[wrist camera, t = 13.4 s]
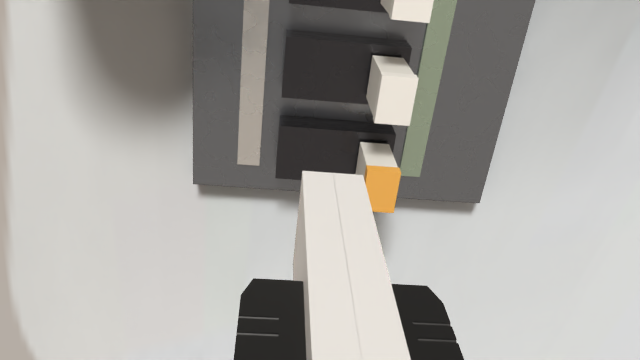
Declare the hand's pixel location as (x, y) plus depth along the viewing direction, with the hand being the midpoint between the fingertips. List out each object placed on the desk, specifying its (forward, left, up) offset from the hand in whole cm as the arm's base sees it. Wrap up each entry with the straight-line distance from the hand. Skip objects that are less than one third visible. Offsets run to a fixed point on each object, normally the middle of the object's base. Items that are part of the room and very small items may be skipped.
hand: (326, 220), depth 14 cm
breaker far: (+6, -9, -23) cm, 25 cm away
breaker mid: (+6, -3, -23) cm, 23 cm away
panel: (+4, -4, -26) cm, 27 cm away
